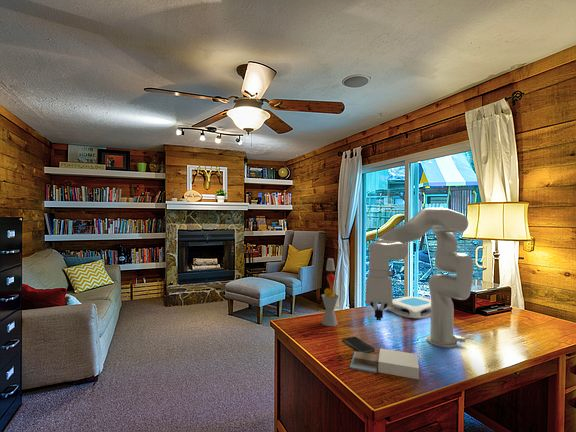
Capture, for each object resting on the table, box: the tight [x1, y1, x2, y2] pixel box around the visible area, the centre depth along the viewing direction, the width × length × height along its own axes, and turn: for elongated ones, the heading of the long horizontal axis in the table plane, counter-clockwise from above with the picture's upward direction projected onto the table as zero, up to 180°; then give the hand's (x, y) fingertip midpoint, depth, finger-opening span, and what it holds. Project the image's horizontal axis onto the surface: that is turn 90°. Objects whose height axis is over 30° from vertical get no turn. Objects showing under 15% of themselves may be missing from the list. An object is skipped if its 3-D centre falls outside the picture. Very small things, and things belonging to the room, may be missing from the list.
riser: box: [377, 348, 420, 380], centre depth 118 cm, size 14×12×4 cm
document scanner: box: [385, 296, 431, 319], centre depth 188 cm, size 21×28×6 cm
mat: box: [349, 351, 378, 374], centre depth 122 cm, size 10×14×1 cm
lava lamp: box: [321, 257, 339, 327], centre depth 165 cm, size 9×9×35 cm
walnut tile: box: [354, 351, 379, 368], centre depth 122 cm, size 9×6×2 cm, turn 69°
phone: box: [342, 336, 375, 353], centre depth 138 cm, size 8×1×15 cm
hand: (378, 319), depth 122 cm, fingers closed
